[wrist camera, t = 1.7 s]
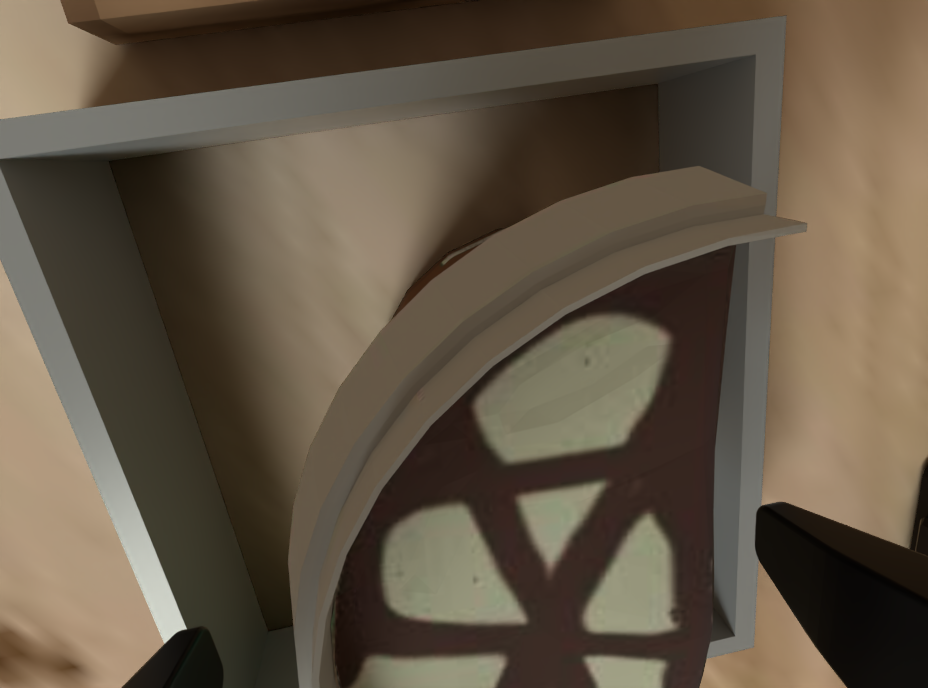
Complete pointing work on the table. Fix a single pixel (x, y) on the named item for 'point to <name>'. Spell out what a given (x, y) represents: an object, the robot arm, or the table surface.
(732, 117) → the tub
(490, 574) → the food container
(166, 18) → the tray
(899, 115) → the table surface
